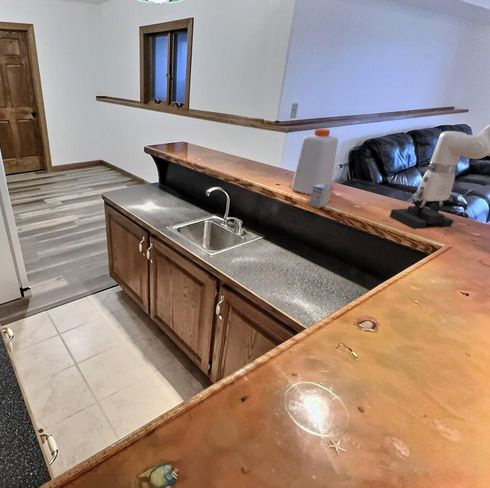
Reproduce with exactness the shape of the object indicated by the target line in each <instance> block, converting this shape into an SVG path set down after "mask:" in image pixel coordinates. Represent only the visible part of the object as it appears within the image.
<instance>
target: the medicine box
mask: <svg viewBox="0 0 490 488" xmlns="http://www.w3.org/2000/svg"><path fill="white" fill-rule="evenodd" d="M332 189H333V185H332V184H331V185H329V184H325V183H322V184H319V185H316V186H314V187H313V190H312V195H310V200H309V206H310V207H313V208H316V209H320V208H323V207H324V206H325V207H326V206H327V205H329V202H330V198H331V193H332Z"/></svg>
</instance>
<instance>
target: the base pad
mask: <svg viewBox="0 0 490 488" xmlns="http://www.w3.org/2000/svg"><path fill="white" fill-rule="evenodd" d="M407 210H408V208H396V209H395V208H393V209H391V210H390V214H389V217H390V218H392V219H394V220H395V221H398V222H399V223H402V224H403V225H405V226H407V227H409V228H411V229H413V230H423V229H425V228H426V226H427V222H426V221H424V220H422V219H420V218H418V217H416V216H413V215H411V214H409V213H407ZM453 223H454V219H452V218H450V217H447V216H446V215H445V216H444V218H443V221H442V223H431V224H432V225H435V226H437V227H439V228H451V227H452V226H453Z"/></svg>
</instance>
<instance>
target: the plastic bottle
mask: <svg viewBox="0 0 490 488" xmlns="http://www.w3.org/2000/svg"><path fill="white" fill-rule="evenodd" d="M330 133H331V132H330V130H329V129H327V128H316V129H315V130H314V133H313V134H310V135H306V136H304V137H303V139H302V144H301V148H300V150H299V151H300V152H299V155H298V160H297V164H296V167H295V171H294V175H293V179H292V183H291V190H292V191H293V190H294V192H296V191H298V192H297V193H299V192H301V193H300V194H303V193H305V194H304V195H307V194H309V195H308V196H311V195H312V190H313V187H314V186H316V185H319V184H322V183H325V184H329V185H332V183H333V176H334V170H335V162H336V157H337V151H338V150H337V149H338V142H339V138H338V137H337V136H332V135H330Z"/></svg>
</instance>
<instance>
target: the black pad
mask: <svg viewBox="0 0 490 488" xmlns="http://www.w3.org/2000/svg"><path fill="white" fill-rule="evenodd" d="M414 208H415V205H409V206H408V207H407V209H408V210H407V213H409V214H411V215H412V214H413V211H414ZM423 208H424V209H423V212H422V214H421V217H420V219H422V220H424V221H426V222H427V223H426V225H427V224H428V225H429V224H432V223H442V221H443V218H444V216H445V217H446V214H443V213H442V212H440V211H438V212H436V211H434V210H431V209H430V207H427V206H425V205H424V206H423Z"/></svg>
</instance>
